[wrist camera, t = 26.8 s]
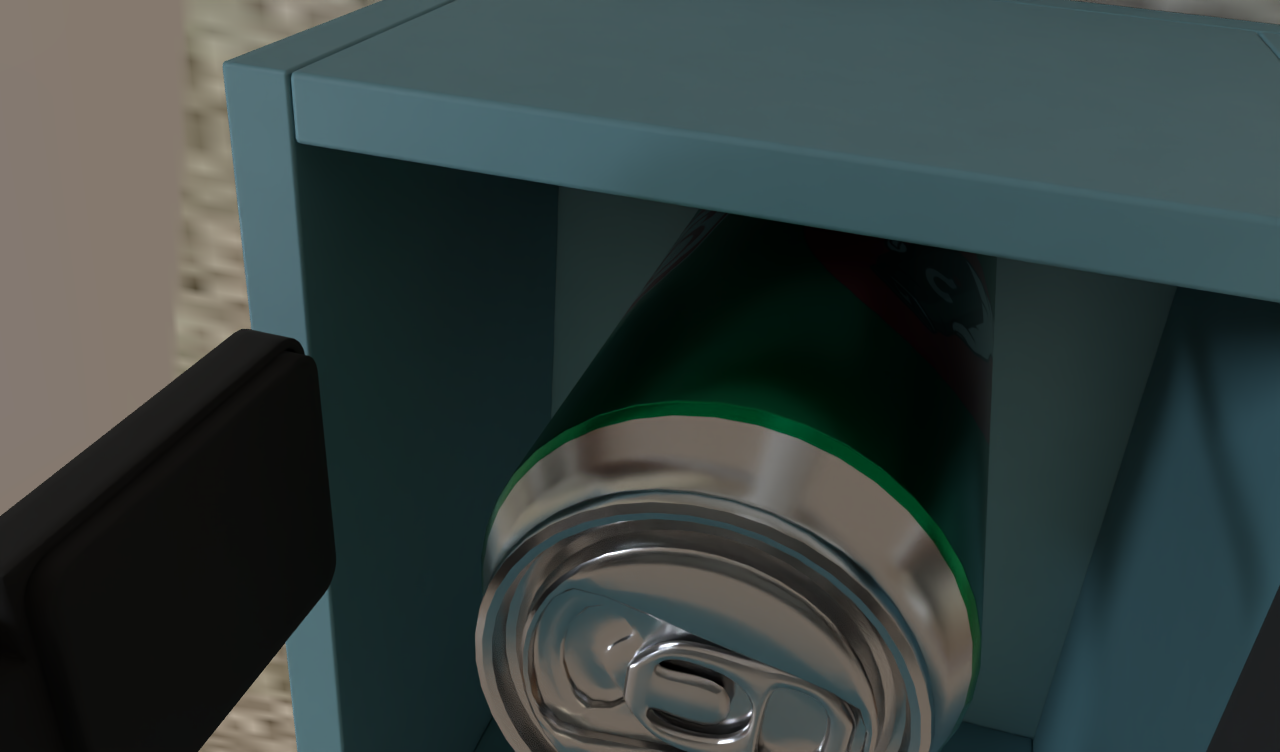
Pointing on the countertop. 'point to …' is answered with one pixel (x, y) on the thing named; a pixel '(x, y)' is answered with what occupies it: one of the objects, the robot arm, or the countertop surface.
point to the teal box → (805, 195)
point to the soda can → (755, 508)
